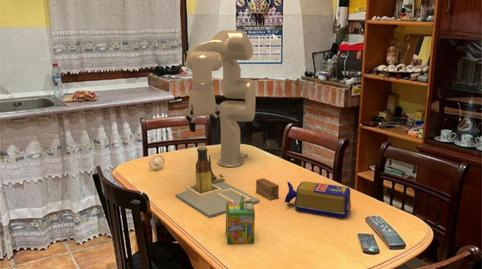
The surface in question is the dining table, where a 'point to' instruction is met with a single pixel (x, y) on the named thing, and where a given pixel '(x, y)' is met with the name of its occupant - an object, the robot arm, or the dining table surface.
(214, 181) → the eiffel tower figurine
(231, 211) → the chalk box
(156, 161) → the ring around a ball
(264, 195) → the brown wooden block
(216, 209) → the jig board
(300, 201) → the bread
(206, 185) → the sauce bottle
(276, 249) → the dining table surface
